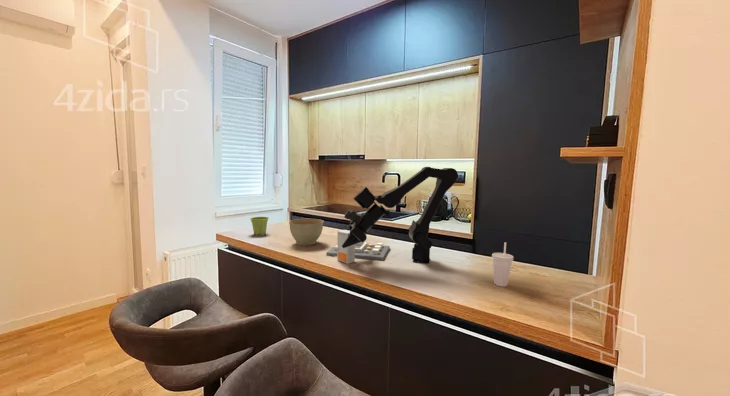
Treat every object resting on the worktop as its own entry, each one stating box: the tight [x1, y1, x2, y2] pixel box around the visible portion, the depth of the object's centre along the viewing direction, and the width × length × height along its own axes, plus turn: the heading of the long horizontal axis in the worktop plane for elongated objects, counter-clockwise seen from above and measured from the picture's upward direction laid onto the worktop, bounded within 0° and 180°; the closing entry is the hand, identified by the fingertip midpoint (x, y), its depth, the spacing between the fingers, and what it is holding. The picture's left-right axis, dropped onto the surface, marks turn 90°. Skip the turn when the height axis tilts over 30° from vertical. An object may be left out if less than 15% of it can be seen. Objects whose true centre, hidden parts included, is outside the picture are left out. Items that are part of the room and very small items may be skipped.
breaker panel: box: [325, 241, 390, 261], centre depth 131 cm, size 24×18×3 cm
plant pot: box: [249, 216, 270, 236], centre depth 161 cm, size 9×9×9 cm
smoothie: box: [491, 242, 514, 288], centre depth 96 cm, size 6×6×14 cm
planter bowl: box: [288, 218, 324, 246], centre depth 143 cm, size 16×16×11 cm
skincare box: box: [336, 229, 356, 265], centre depth 117 cm, size 6×4×12 cm
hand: (342, 244), depth 117 cm, fingers closed on skincare box, 7 cm apart
